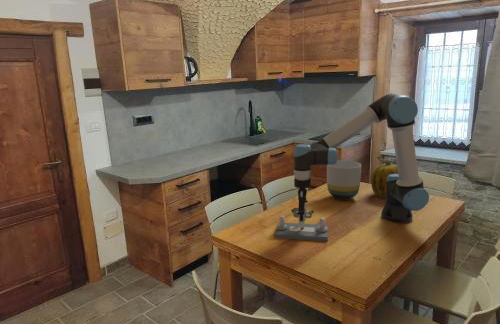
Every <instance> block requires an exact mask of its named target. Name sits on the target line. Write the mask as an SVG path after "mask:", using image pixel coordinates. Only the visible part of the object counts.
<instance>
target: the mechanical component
mask: <svg viewBox="0 0 500 324" xmlns="http://www.w3.org/2000/svg"><path fill="white" fill-rule="evenodd" d="M298 210H299V207H293V208H291V213H292V214H293V217H294V218H298V219H299V214H297V212H298ZM300 212H303V211H300ZM304 213H305V219H310V218H312V215H313V214H314V209H310V210H309V211H307V208H306V209H305V208H304ZM303 229H304V227H301V230H303Z"/></svg>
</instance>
